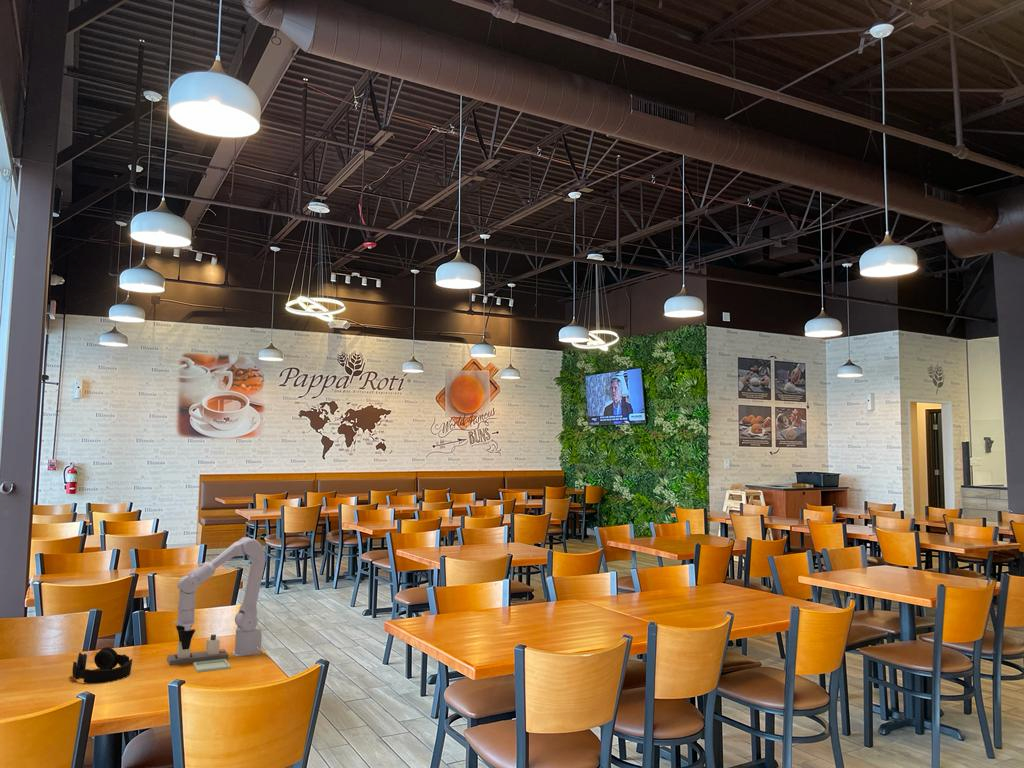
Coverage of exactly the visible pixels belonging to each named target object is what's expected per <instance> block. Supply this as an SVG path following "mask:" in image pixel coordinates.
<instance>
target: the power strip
mask: <svg viewBox="0 0 1024 768" xmlns="http://www.w3.org/2000/svg"><path fill="white" fill-rule="evenodd" d="M220 643H221V641H220V638H218V637H217V635H216V634H211V635H210V638H206V645H205V647H206V648H205V650H203V651H193V652H190V657H189V658H180V659H177V653H175V654H167V663H168V665H169V666H177V665H185V664H193V662H202V661H211V660H220V659H226V660H229V653H228V651H226V649H225V648H221V649H220Z"/></svg>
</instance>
